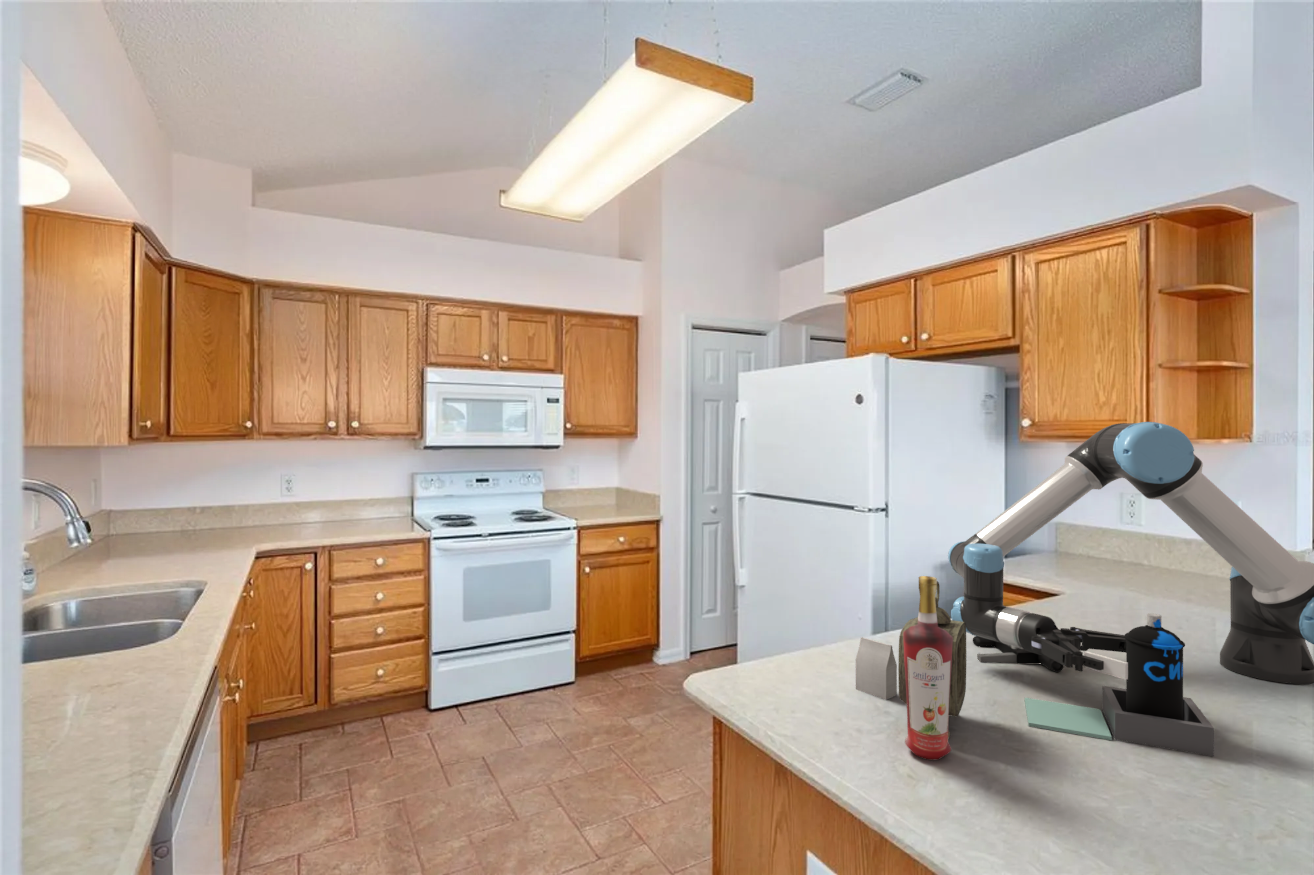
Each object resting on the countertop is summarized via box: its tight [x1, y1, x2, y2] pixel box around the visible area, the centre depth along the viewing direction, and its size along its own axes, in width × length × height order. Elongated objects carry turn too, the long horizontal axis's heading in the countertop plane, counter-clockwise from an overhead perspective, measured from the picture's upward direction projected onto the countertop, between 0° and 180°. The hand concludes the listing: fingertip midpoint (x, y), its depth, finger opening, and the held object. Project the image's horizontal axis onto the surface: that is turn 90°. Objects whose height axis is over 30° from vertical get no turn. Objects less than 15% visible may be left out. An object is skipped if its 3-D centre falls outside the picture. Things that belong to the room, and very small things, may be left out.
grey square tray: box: [1101, 685, 1215, 758], centre depth 111 cm, size 13×13×4 cm
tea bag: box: [855, 636, 898, 701], centre depth 129 cm, size 4×7×10 cm, turn 38°
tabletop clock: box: [897, 580, 967, 739], centre depth 115 cm, size 14×9×25 cm, turn 148°
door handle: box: [972, 636, 1065, 673], centre depth 149 cm, size 3×20×16 cm
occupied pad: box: [1024, 697, 1113, 741], centre depth 116 cm, size 12×12×1 cm
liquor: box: [903, 575, 953, 761], centre depth 104 cm, size 7×7×28 cm
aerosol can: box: [1124, 612, 1186, 721], centre depth 111 cm, size 8×8×20 cm
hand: (1148, 664), depth 112 cm, fingers open, 13 cm apart
